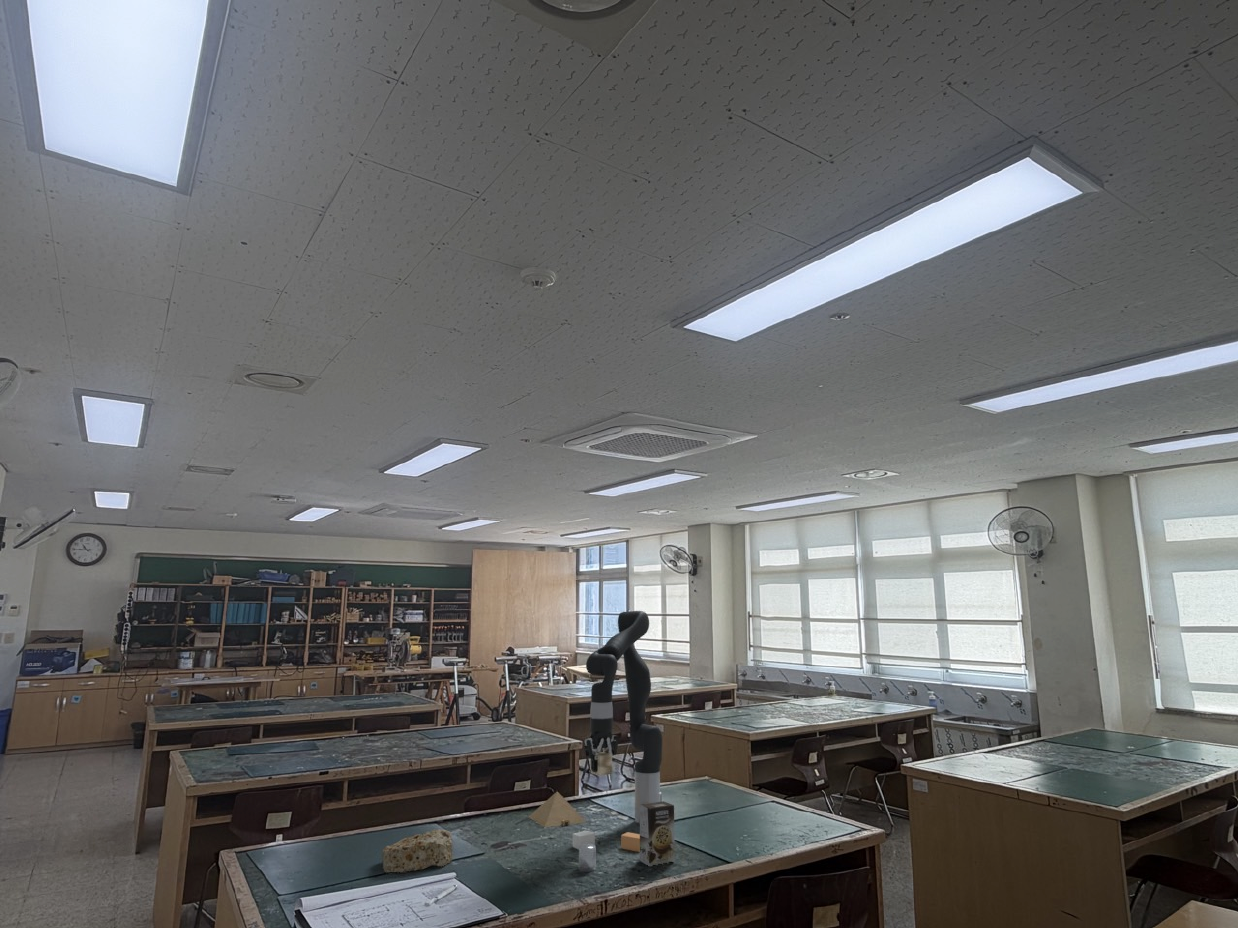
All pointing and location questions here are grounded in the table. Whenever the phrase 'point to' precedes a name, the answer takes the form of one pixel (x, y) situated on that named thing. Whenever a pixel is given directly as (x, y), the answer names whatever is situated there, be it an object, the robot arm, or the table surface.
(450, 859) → the rock
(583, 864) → the brushed metal cylinder
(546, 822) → the model pyramid
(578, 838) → the off-white plastic block
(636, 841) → the orange plastic block
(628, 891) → the table surface
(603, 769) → the maple block
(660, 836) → the coffee box
